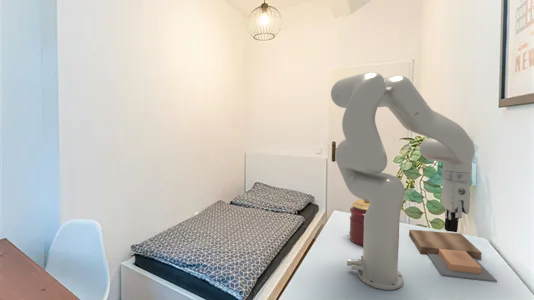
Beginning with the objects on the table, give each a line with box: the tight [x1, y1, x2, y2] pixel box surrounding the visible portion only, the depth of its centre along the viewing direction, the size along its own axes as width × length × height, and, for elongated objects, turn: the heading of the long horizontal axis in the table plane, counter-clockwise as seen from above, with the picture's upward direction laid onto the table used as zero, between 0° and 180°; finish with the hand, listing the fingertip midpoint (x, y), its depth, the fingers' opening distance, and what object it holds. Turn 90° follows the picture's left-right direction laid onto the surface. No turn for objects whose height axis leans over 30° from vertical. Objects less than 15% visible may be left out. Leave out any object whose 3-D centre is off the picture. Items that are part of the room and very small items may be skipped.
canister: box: [349, 198, 370, 247], centre depth 101 cm, size 13×13×18 cm
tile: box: [438, 249, 481, 274], centre depth 84 cm, size 8×10×2 cm
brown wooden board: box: [408, 229, 482, 261], centre depth 96 cm, size 18×15×2 cm
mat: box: [426, 253, 498, 283], centre depth 82 cm, size 14×13×1 cm
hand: (450, 230), depth 86 cm, fingers closed
